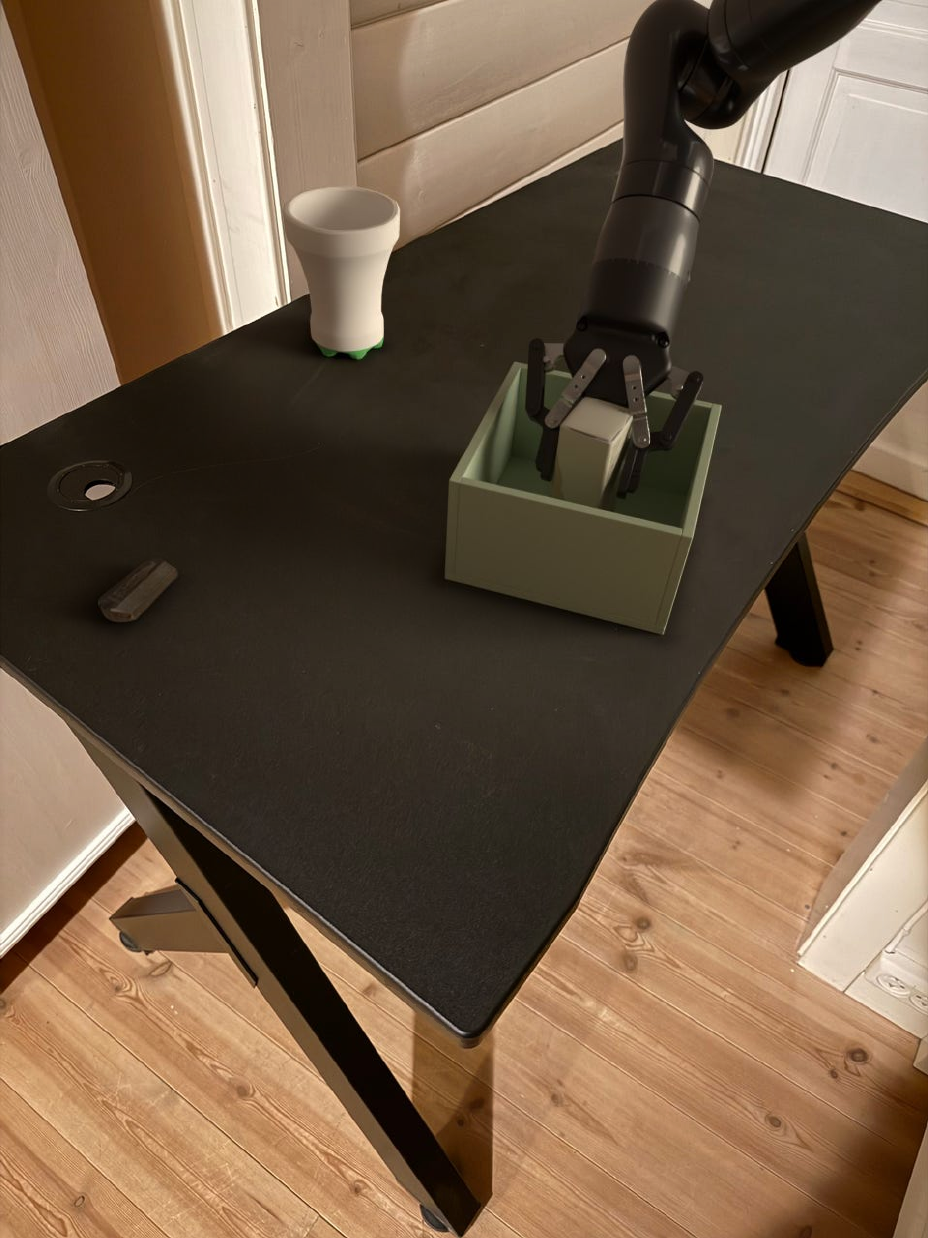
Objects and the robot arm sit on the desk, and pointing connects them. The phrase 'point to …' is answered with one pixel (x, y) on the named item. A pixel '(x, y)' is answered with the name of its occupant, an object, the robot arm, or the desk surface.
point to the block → (137, 590)
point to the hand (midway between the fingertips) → (583, 487)
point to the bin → (575, 515)
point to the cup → (343, 262)
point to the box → (592, 454)
